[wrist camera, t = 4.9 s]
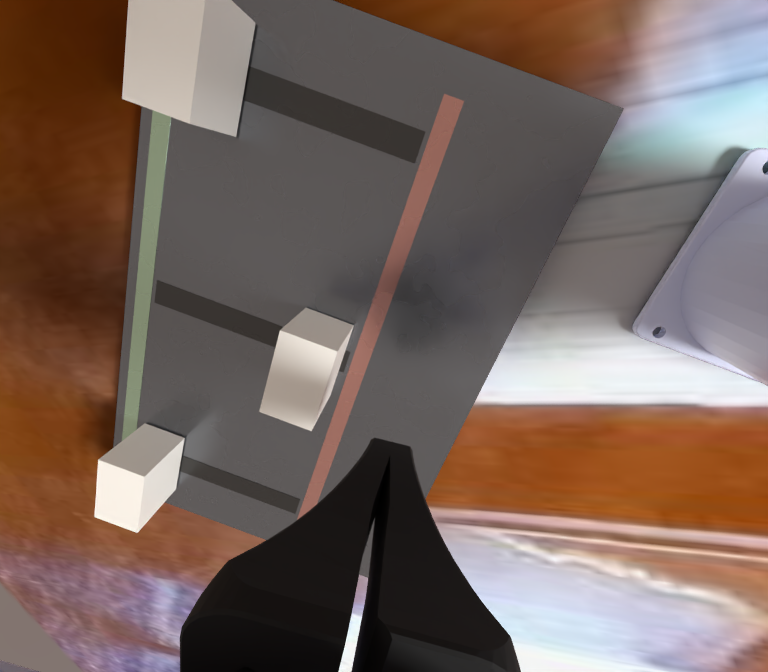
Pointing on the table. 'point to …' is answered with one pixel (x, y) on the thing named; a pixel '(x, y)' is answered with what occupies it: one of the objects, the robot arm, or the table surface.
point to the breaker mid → (305, 367)
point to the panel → (340, 251)
